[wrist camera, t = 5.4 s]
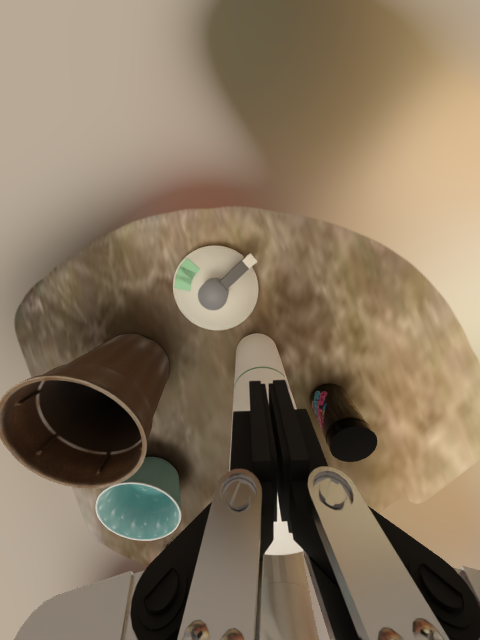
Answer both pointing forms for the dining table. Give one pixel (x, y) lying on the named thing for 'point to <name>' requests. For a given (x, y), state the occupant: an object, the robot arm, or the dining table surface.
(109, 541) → the dining table surface
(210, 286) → the friction peg
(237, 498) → the robot arm
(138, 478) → the bowl
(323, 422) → the supplement container
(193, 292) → the dial plate
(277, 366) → the cylindrical container
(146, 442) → the plant pot
